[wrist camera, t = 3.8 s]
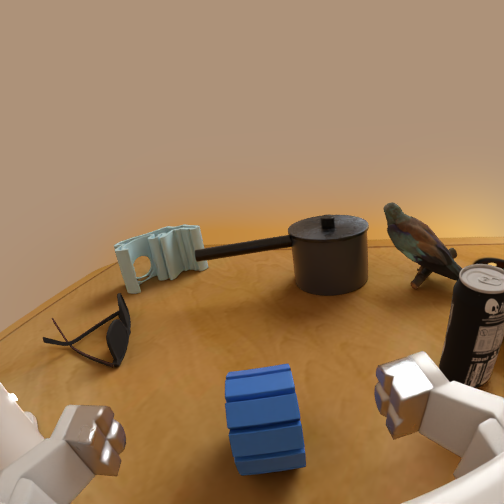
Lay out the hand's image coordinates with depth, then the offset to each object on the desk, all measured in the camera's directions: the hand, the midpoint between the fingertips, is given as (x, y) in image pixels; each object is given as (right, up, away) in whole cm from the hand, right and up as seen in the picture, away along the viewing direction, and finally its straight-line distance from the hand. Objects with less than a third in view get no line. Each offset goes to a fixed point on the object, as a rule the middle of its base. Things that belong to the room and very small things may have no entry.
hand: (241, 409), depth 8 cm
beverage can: (+24, -9, +19) cm, 32 cm away
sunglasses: (-26, -10, +38) cm, 47 cm away
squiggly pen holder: (-19, -1, +60) cm, 63 cm away
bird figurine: (+31, 0, +40) cm, 50 cm away
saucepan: (+7, -1, +48) cm, 48 cm away
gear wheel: (+2, -13, +17) cm, 21 cm away
